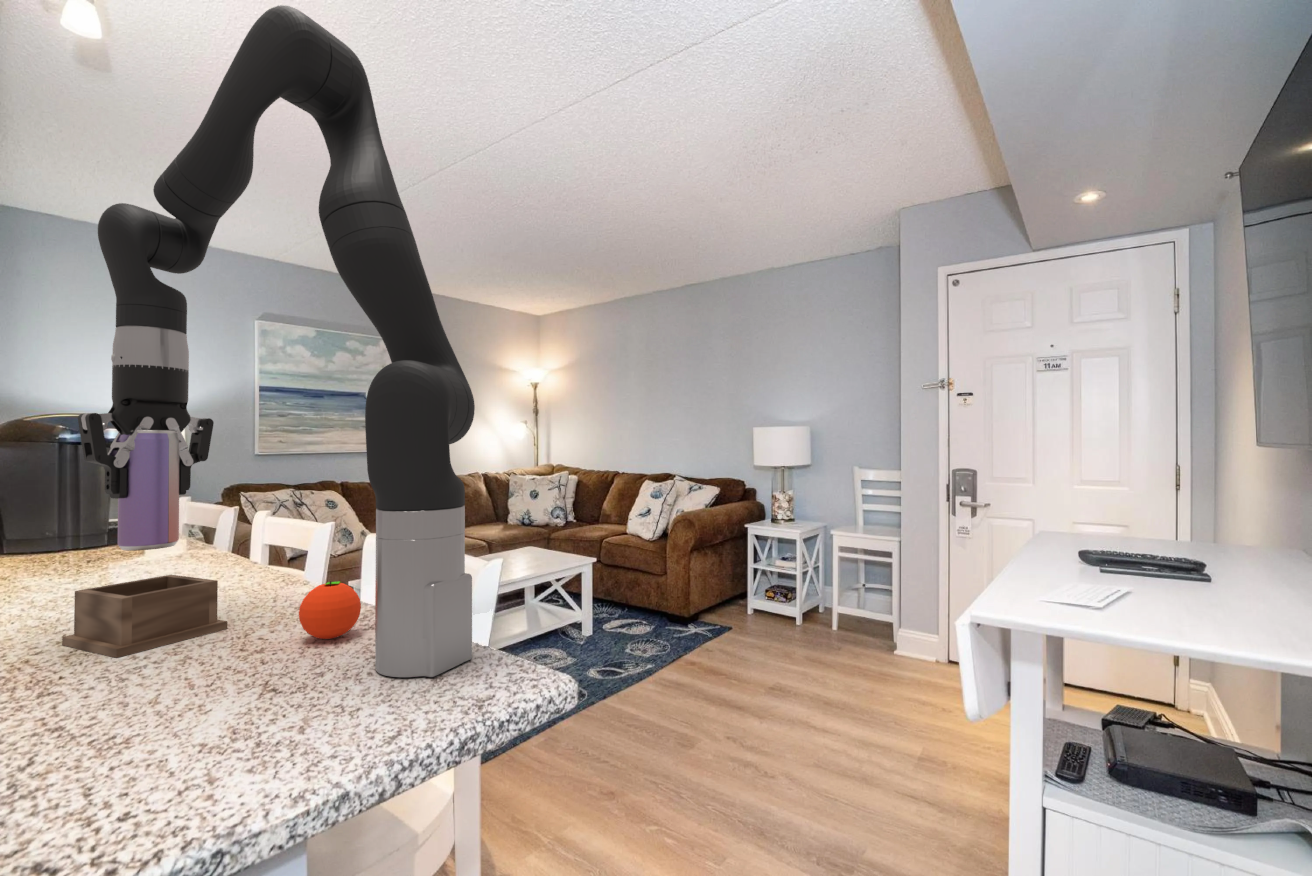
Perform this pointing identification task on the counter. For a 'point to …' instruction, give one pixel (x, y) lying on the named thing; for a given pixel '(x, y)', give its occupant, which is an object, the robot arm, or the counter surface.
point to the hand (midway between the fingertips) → (149, 495)
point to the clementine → (329, 610)
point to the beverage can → (150, 492)
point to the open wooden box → (144, 614)
